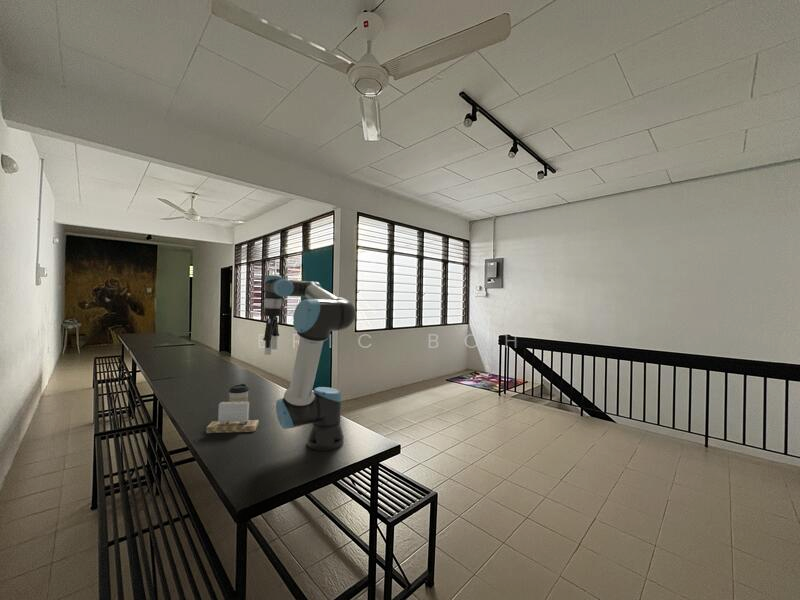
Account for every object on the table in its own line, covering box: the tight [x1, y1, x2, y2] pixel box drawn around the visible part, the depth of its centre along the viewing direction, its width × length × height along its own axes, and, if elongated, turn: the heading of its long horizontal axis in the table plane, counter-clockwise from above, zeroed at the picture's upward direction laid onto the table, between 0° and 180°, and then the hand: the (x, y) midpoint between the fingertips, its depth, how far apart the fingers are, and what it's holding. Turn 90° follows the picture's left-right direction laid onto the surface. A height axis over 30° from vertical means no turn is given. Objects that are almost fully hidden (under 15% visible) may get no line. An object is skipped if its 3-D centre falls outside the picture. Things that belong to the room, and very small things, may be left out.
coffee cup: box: [228, 383, 249, 402], centre depth 163 cm, size 9×9×15 cm
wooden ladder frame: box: [206, 419, 260, 434], centre depth 147 cm, size 20×7×2 cm, turn 101°
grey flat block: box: [217, 401, 250, 426], centre depth 146 cm, size 12×3×12 cm, turn 101°
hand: (271, 351), depth 153 cm, fingers open, 13 cm apart
